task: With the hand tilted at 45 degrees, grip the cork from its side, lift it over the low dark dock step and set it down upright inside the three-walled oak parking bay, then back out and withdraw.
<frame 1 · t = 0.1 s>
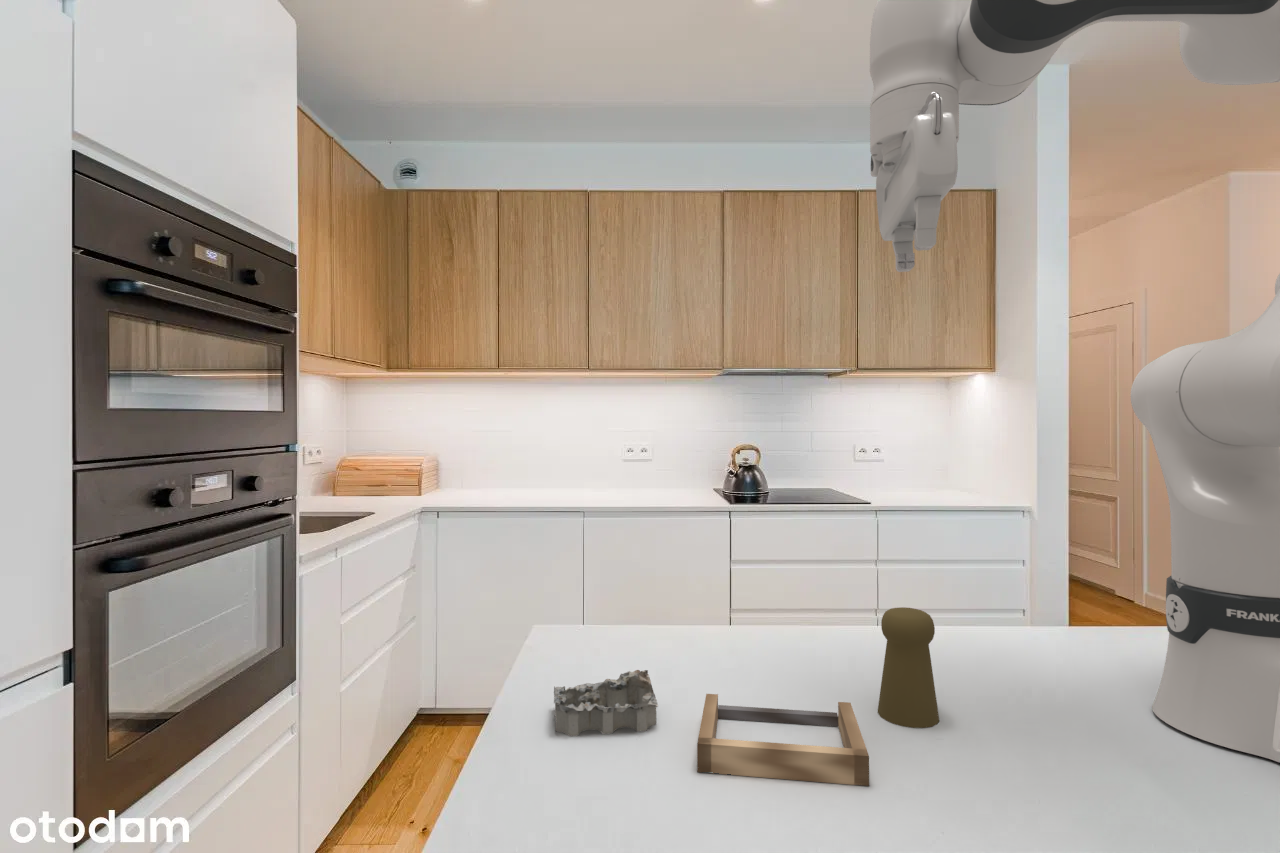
hand: (914, 260, 73), 48 cm above the kitchen island, tool pointing down, fingers open, 8 cm apart
cork: (907, 717, 71), on the kitchen island
bay: (778, 745, 64), on the kitchen island
egg carton: (605, 724, 70), on the kitchen island
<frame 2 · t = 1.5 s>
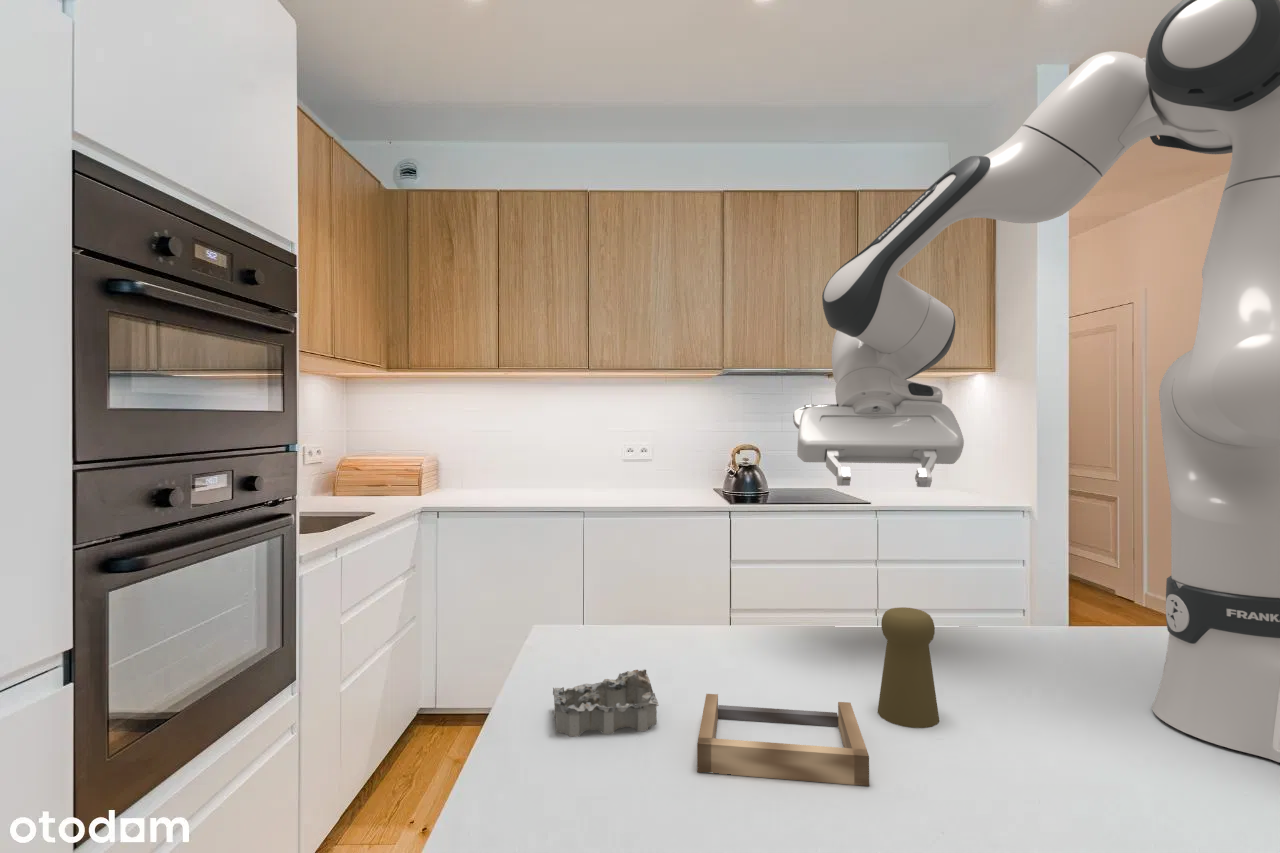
hand: (884, 483, 83), 23 cm above the kitchen island, tool tilted 45°, fingers open, 8 cm apart
nothing on the kitchen island moved.
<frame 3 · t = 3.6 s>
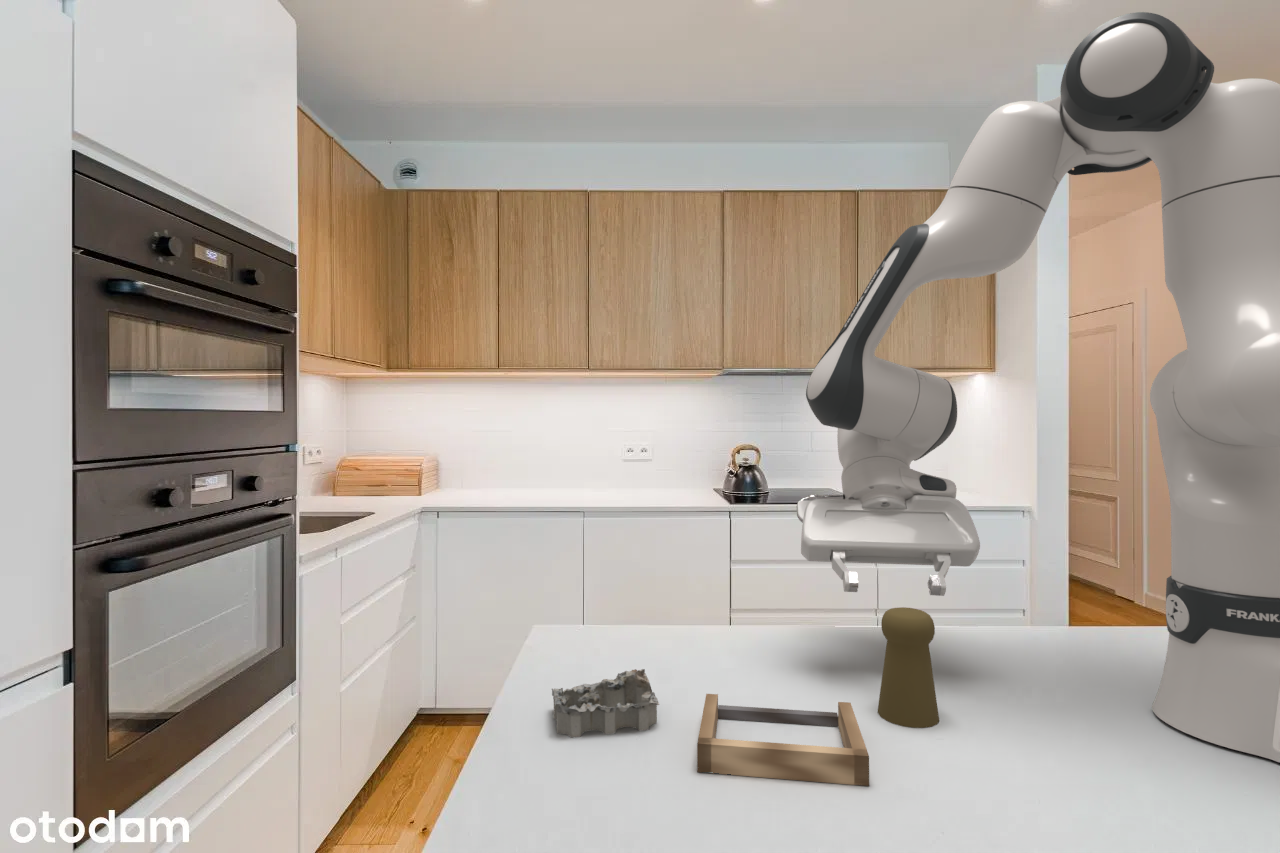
hand: (894, 591, 77), 11 cm above the kitchen island, tool tilted 45°, fingers open, 8 cm apart
nothing on the kitchen island moved.
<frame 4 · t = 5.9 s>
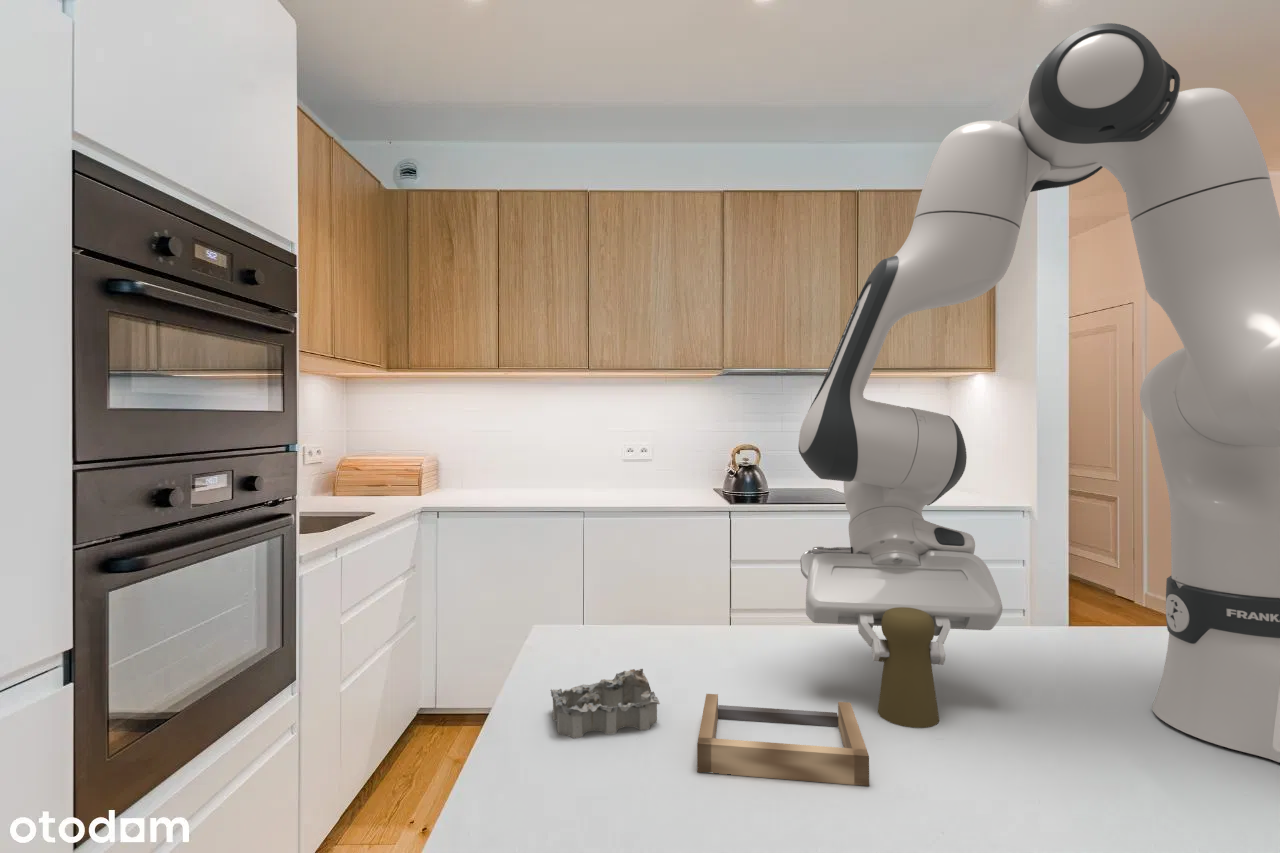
hand: (909, 660, 70), 6 cm above the kitchen island, tool tilted 45°, fingers closed on cork, 4 cm apart
cork: (907, 716, 71), on the kitchen island, touching gripper
everything else where it was.
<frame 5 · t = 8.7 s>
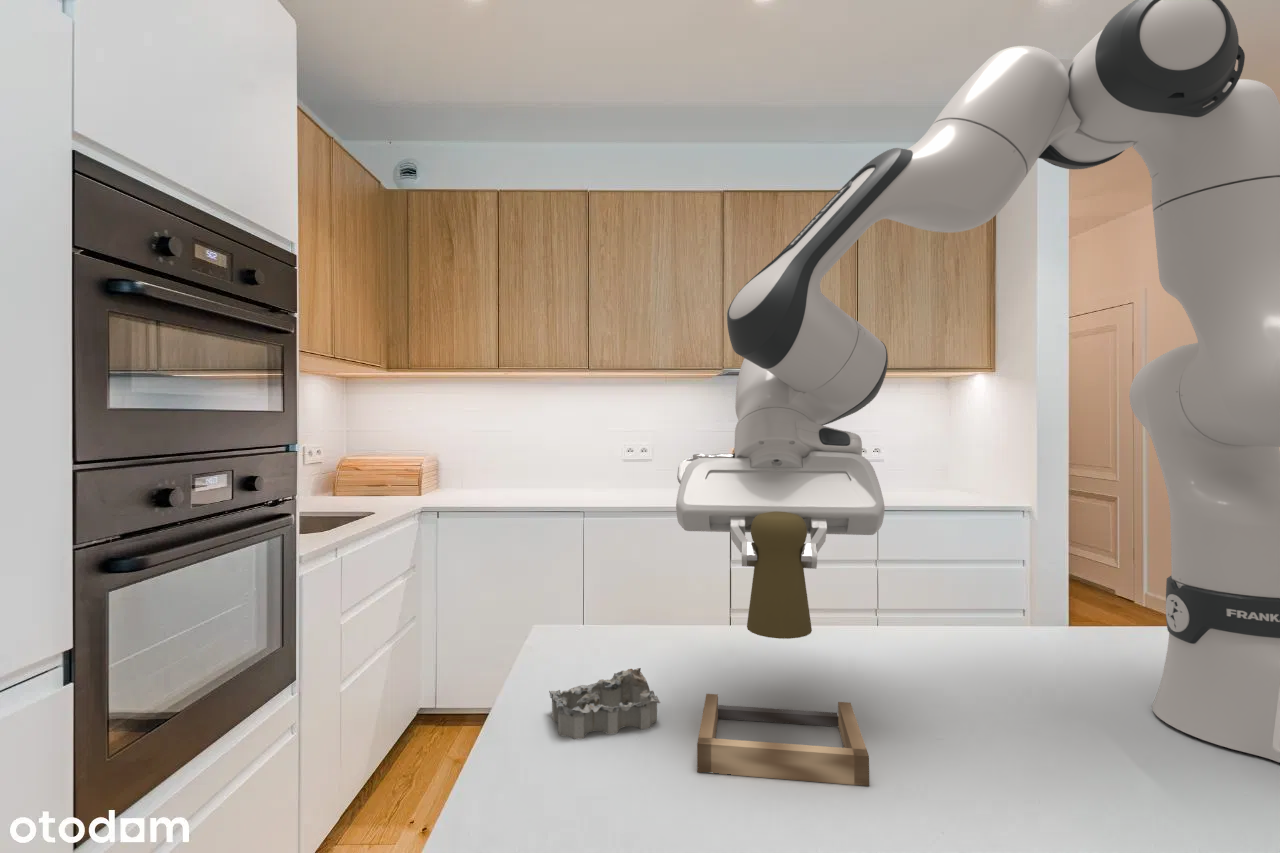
hand: (779, 564, 64), 17 cm above the kitchen island, tool tilted 45°, fingers closed on cork, 4 cm apart
cork: (779, 630, 64), point 11 cm above the kitchen island, touching gripper
everything else where it was.
when the fingers open (7 cm above the kitchen island, at t = 11.4 s): cork drops 1 cm, resting in bay.
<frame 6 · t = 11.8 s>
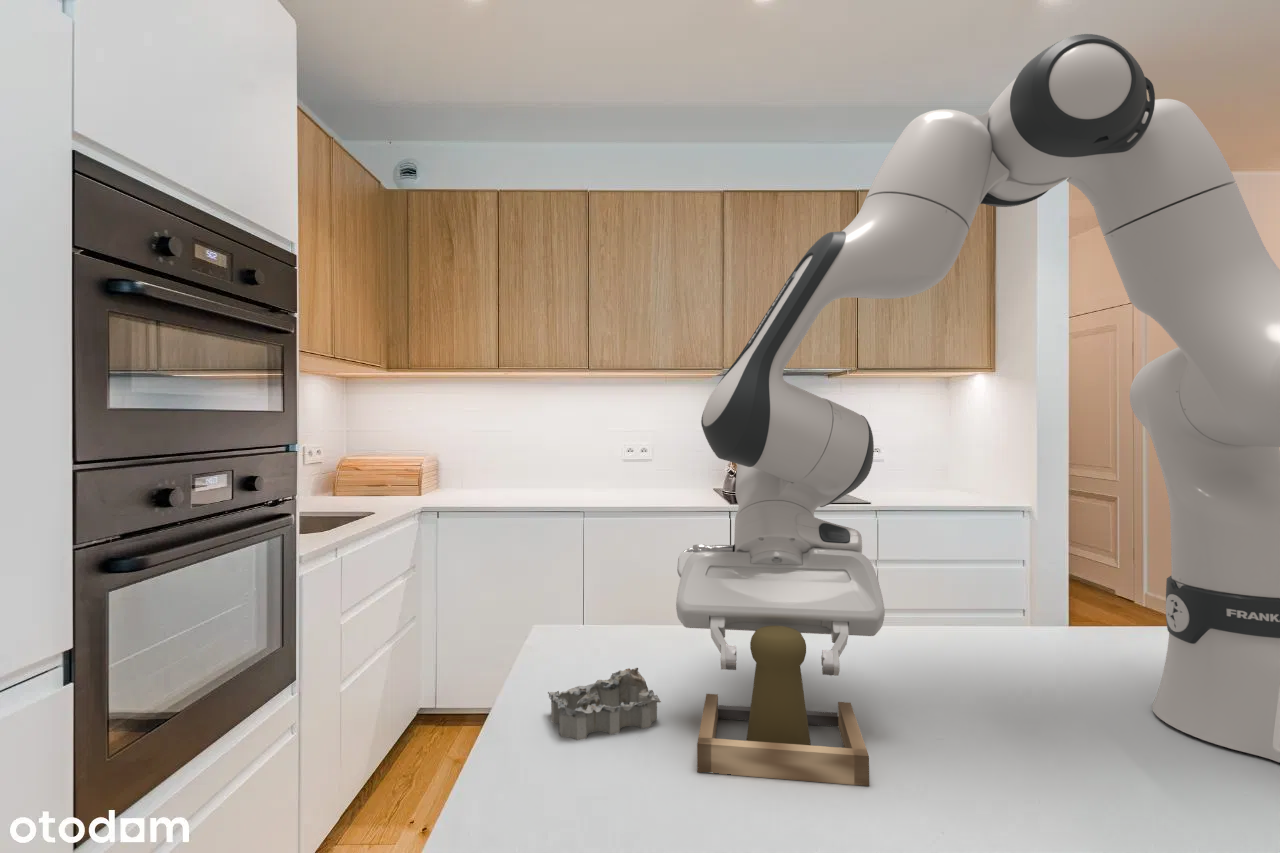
hand: (779, 670, 64), 7 cm above the kitchen island, tool tilted 45°, fingers open, 8 cm apart
cork: (778, 746, 64), resting in bay
everything else where it was.
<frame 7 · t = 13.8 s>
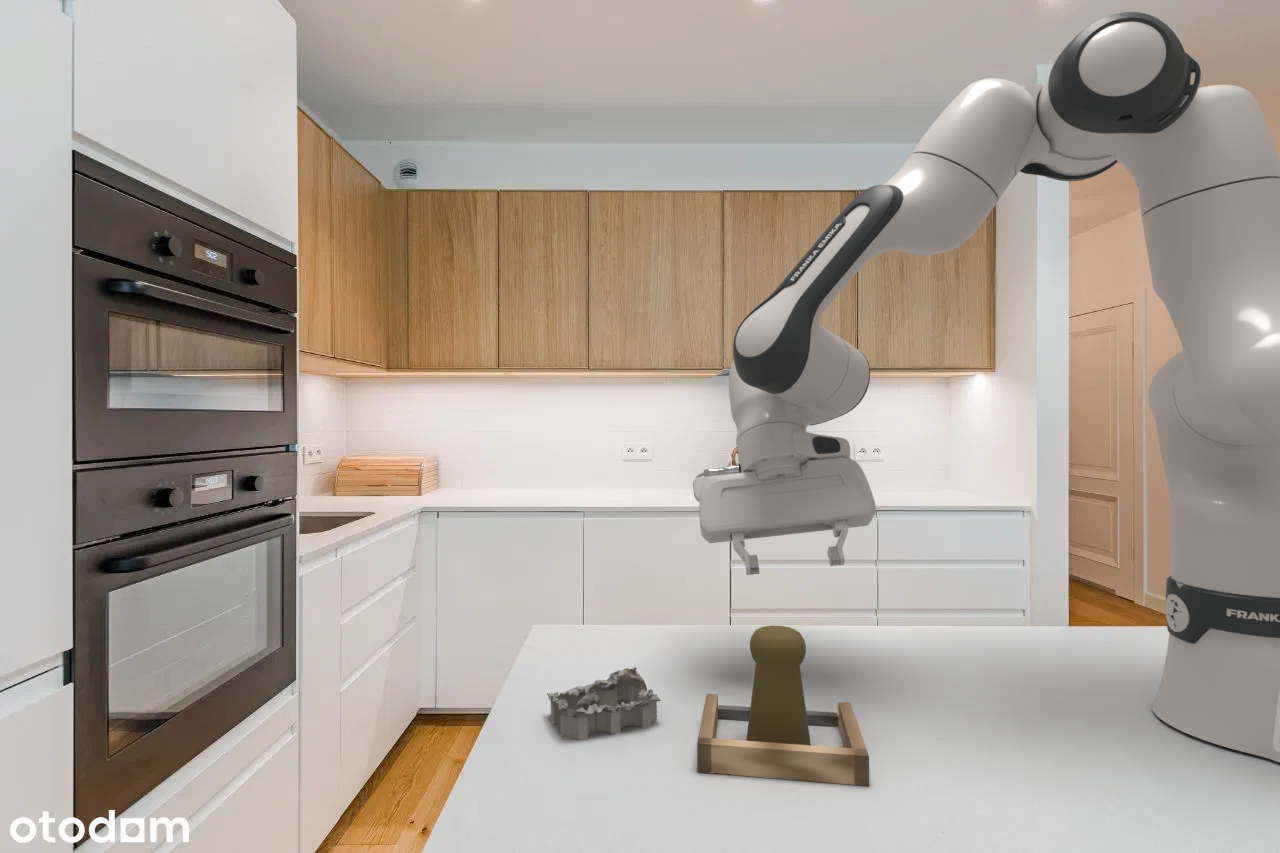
hand: (795, 568, 76), 14 cm above the kitchen island, tool tilted 30°, fingers open, 8 cm apart
nothing on the kitchen island moved.
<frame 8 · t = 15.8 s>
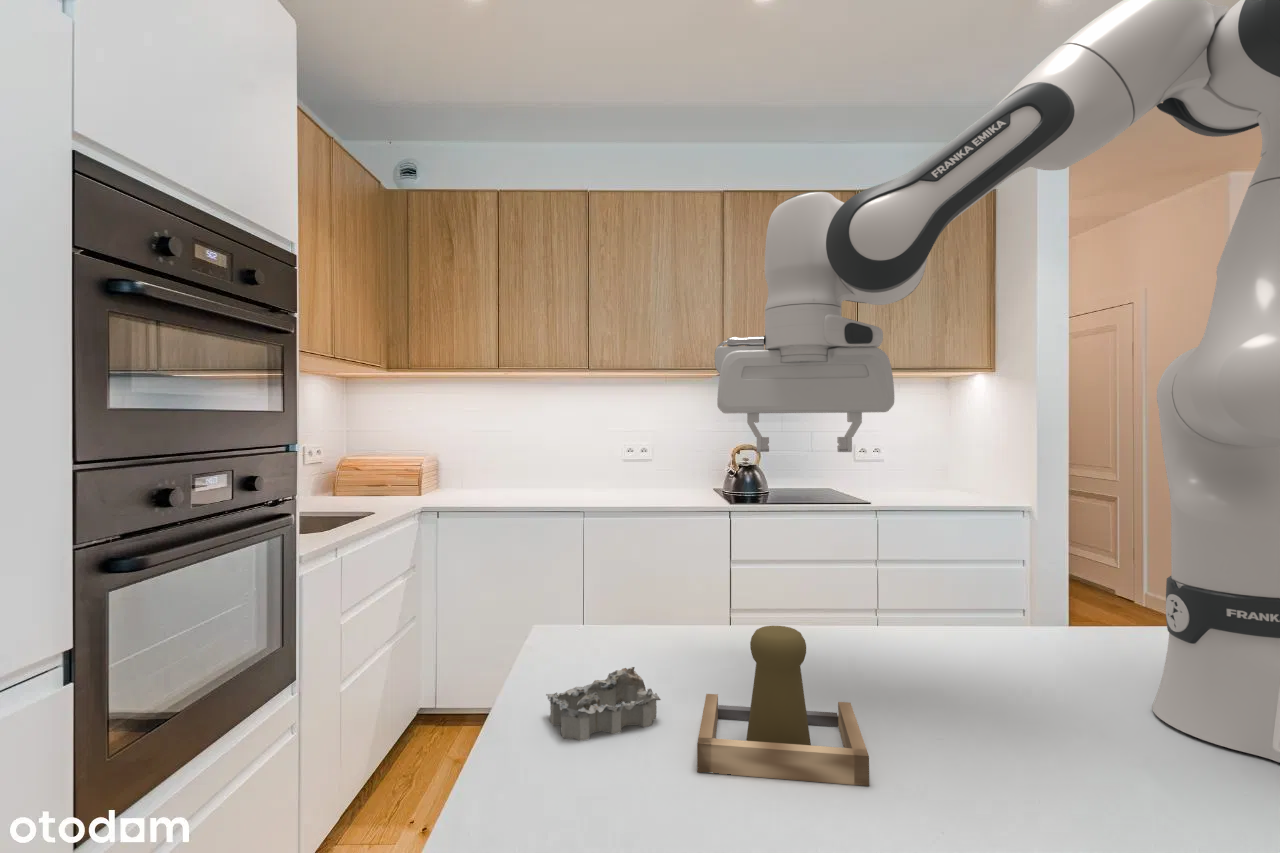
hand: (803, 452, 80), 27 cm above the kitchen island, tool pointing down, fingers open, 8 cm apart
at the end: cork inside the target area on the bay (0.5 cm from its centre), point 0.0 cm above the bay's base; cork tilted 0°; the gripper is holding nothing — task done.
